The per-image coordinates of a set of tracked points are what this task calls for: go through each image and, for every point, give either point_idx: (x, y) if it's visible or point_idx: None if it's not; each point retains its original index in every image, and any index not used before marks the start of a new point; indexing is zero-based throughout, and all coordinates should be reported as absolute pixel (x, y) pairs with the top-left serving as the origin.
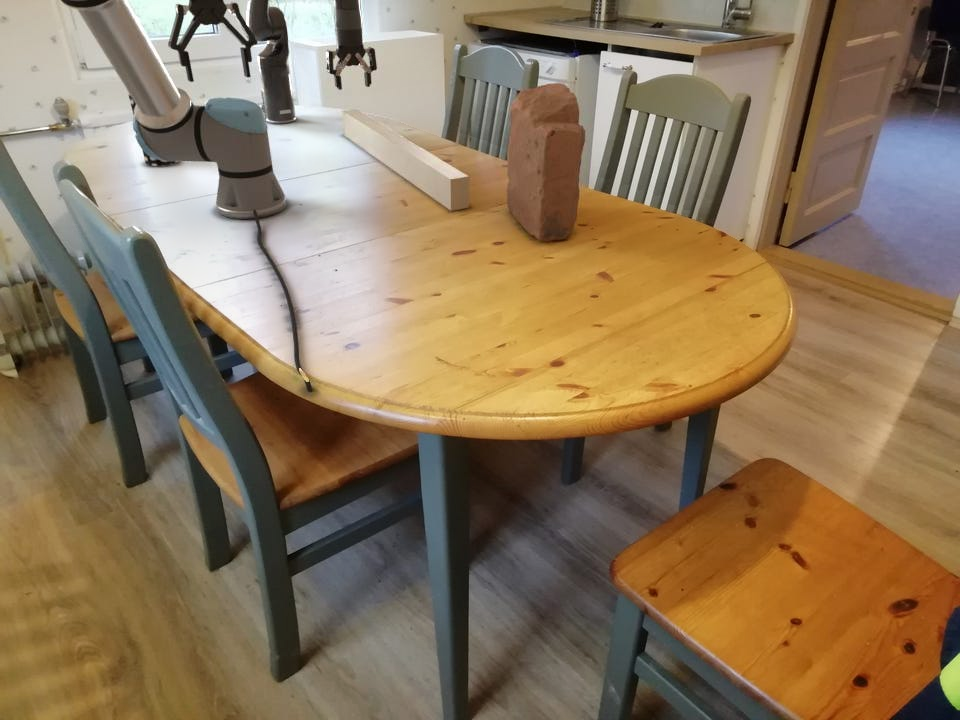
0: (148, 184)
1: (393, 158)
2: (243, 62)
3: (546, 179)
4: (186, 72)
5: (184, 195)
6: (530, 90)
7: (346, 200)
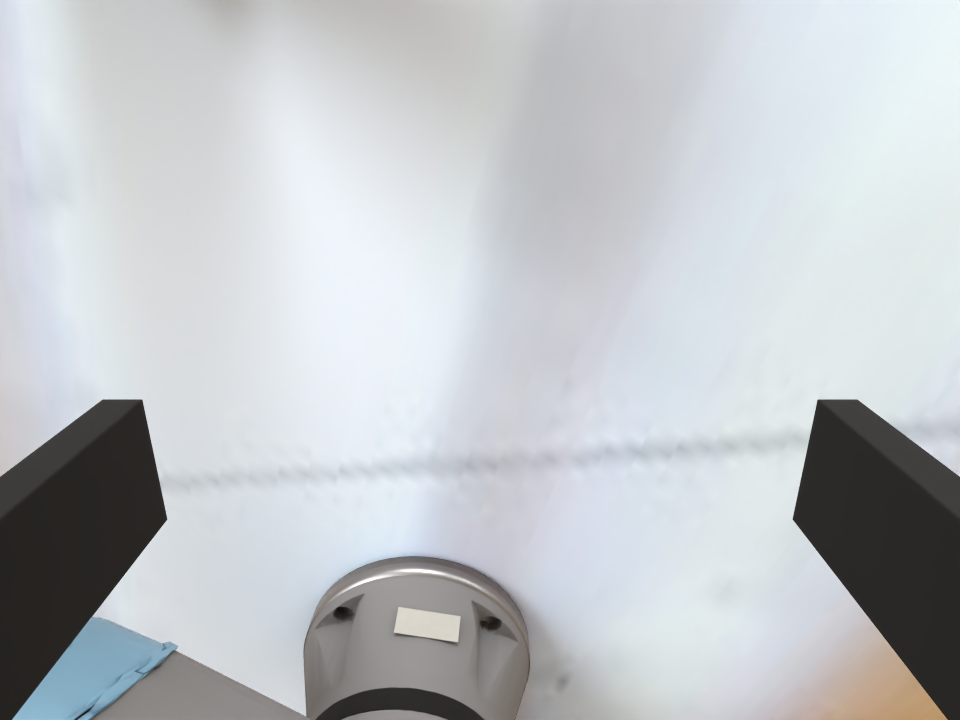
0: (80, 218)
1: None
2: (912, 552)
3: None
4: (45, 445)
5: (224, 431)
6: None
7: (699, 710)
